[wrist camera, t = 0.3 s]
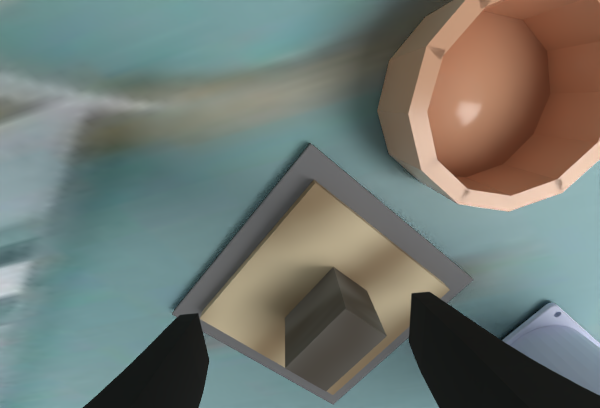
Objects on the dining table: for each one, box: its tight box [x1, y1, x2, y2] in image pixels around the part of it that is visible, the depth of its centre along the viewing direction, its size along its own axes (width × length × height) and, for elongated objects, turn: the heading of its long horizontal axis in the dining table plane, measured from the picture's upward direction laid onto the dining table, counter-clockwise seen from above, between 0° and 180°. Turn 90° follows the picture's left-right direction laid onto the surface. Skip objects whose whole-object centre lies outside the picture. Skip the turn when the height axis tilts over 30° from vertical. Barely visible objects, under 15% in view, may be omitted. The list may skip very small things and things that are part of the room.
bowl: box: [377, 0, 600, 212], centre depth 15 cm, size 10×10×4 cm
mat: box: [172, 143, 473, 404], centre depth 21 cm, size 15×15×1 cm
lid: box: [200, 180, 450, 395], centre depth 18 cm, size 12×12×5 cm
